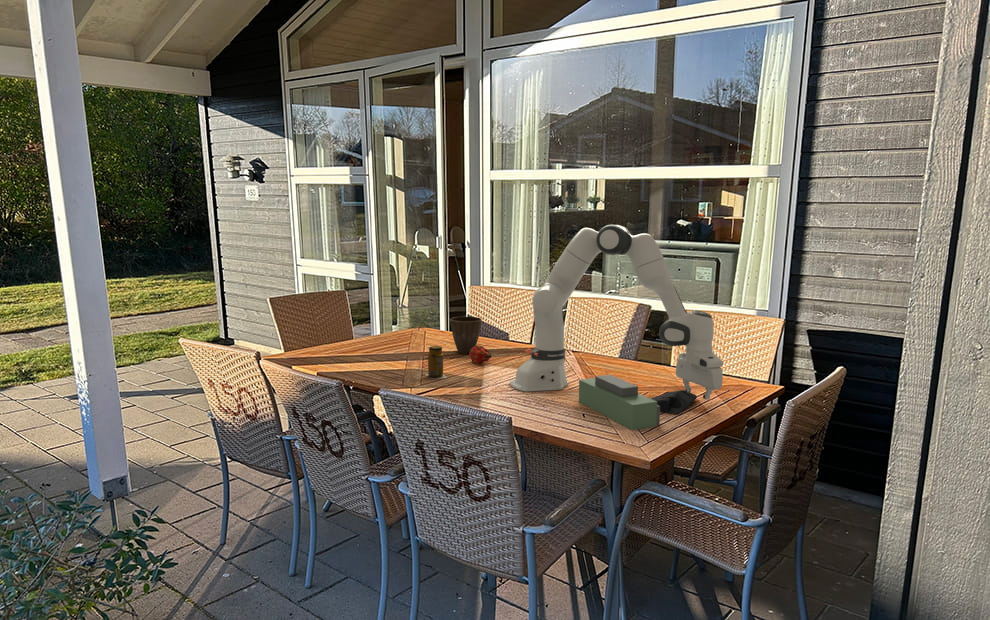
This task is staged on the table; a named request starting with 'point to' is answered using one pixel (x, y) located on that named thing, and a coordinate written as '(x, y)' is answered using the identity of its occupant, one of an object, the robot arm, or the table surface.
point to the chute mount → (619, 401)
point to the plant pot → (465, 332)
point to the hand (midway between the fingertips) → (697, 395)
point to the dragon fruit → (479, 354)
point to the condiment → (435, 363)
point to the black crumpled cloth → (674, 401)
